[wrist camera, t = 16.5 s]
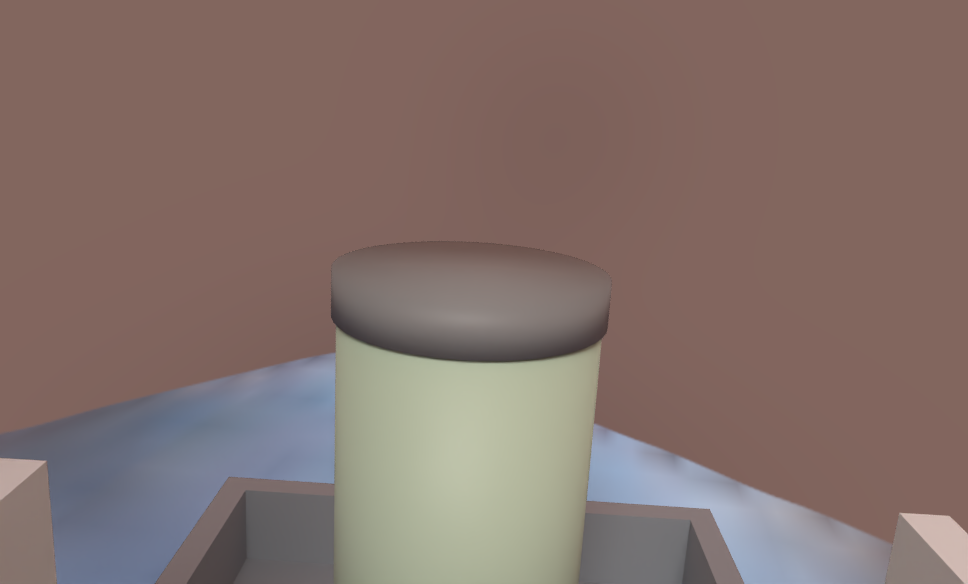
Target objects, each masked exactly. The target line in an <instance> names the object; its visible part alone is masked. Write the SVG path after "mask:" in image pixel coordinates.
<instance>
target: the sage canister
mask: <svg viewBox="0 0 968 584" xmlns="http://www.w3.org/2000/svg"><path fill="white" fill-rule="evenodd" d="M331 272H332V274H331V283H332V284H331V318H332V320H333V322H334V323H335V324H336V380H335V485H334V584H579V574H580V563H581V552H582V542H583V531H584V521H585V510H586V500H587V489H588V478H589V468H590V457H591V447H592V436H593V425H594V415H595V404H596V393H597V383H598V372H599V361H600V351H601V340H602V338H603V337H604V335H605V334H606V332H607V328H608V317H609V308H610V298H611V287H612V280H611V277H610V275H609V274H608V273H607V272H606V271H604V270H603V269H601V268H599V267H597V266H596V265H594V264H591V263H589V262H586V261H583V260H580V259H578V258H575V257H571V256H567V255H563V254H559V253H555V252H550V251H545V250H540V249H533V248H527V247H520V246H511V245H503V244H491V243H479V242H450V241H434V242H433V241H430V242H409V243H396V244H387V245H379V246H373V247H368V248H363V249H359V250H355V251H352V252H349V253H347V254H344V255H343V256H341V257H339V258H337V259H336V260H335V261H334V262H333V264H332V271H331Z"/></svg>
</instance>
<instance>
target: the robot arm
mask: <svg viewBox="0 0 968 584" xmlns="http://www.w3.org/2000/svg"><path fill="white" fill-rule="evenodd" d="M0 584H57V579H56V566H55V554H54V542H53V530H52V517H51V505H50V493H49V481H48V468H47V461H40V460H24V459H7V458H0ZM885 584H968V534H967V533H966V532H965V531H964V530H963V529H962V528H961V527H960V526H959V525H958V524H957V523H956V522H955V521H954V520H953V519H952V518H951V517H950V516H941V515H926V514H924V515H923V514H909V513H899V517H898V522H897V527H896V532H895V537H894V542H893V546H892V551H891V556H890V561H889V566H888V571H887V575H886V580H885Z"/></svg>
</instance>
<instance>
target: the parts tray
mask: <svg viewBox="0 0 968 584" xmlns="http://www.w3.org/2000/svg"><path fill="white" fill-rule="evenodd" d="M334 485H335V484H328V483H313V482H298V481H283V480H268V479H253V478H238V477H229V478H228V479H227V480H226V482H225V483H224V485H223V486H222V488H221V489H220V491H219V492H218V493H217V495H216V496H215V498H214V499H213V501H212V502H211V503H210V505H209V506H208V508H207V509H206V511H205V512H204V514H203V515H202V516H201V518H200V519H199V521H198V522H197V524H196V525H195V527H194V528H193V529H192V531H191V532H190V534H189V535H188V537H187V538H186V540H185V541H184V542H183V544H182V545H181V547H180V548H179V550H178V551H177V552H176V554H175V555H174V557H173V558H172V560H171V561H170V563H169V564H168V565H167V567H166V568H165V570H164V571H163V573H162V574H161V576H160V577H159V578H158V580H157V581H156V583H155V584H334ZM579 584H744V582H743V580H742V578H741V576H740V573H739V571H738V569H737V567H736V565H735V563H734V560H733V558H732V556H731V554H730V552H729V550H728V548H727V545H726V543H725V541H724V539H723V537H722V535H721V533H720V530H719V528H718V526H717V524H716V522H715V520H714V518H713V515H712V513H711V511H710V509H698V508H684V507H669V506H654V505H639V504H624V503H609V502H595V501H586V510H585V521H584V531H583V542H582V552H581V563H580V574H579Z"/></svg>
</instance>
